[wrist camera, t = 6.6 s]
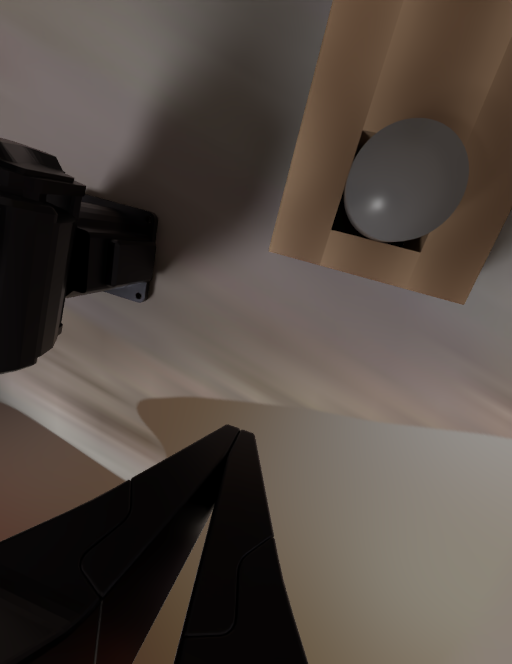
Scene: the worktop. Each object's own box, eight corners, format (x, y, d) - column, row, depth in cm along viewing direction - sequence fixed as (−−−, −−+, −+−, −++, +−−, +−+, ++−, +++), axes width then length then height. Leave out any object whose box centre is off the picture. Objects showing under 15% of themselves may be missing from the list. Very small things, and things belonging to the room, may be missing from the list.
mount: (279, 250, 19) (268, 251, 16) (383, -136, 14) (405, -282, 10) (434, 293, 18) (463, 304, 14) (620, -116, 12) (750, -276, 9)
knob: (329, 233, 18) (332, 226, 13) (354, 153, 17) (369, 106, 11) (402, 251, 17) (438, 253, 12) (434, 171, 16) (491, 130, 11)
